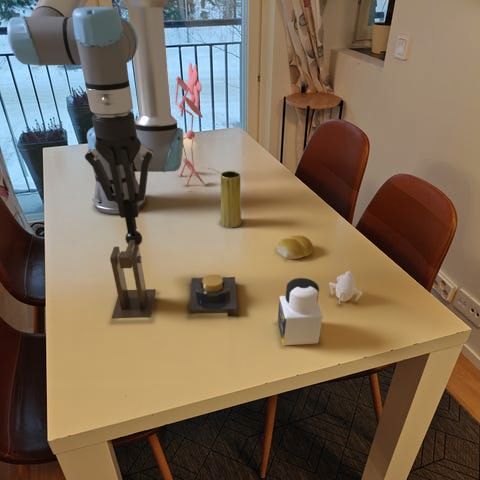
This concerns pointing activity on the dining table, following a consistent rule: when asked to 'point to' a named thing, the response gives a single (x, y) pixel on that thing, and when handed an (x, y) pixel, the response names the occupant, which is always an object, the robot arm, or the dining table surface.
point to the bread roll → (295, 247)
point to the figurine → (194, 90)
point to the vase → (230, 199)
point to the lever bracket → (131, 300)
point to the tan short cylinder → (212, 283)
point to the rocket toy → (345, 287)
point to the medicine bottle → (300, 313)
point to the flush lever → (129, 249)
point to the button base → (213, 298)
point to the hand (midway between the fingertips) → (132, 230)
